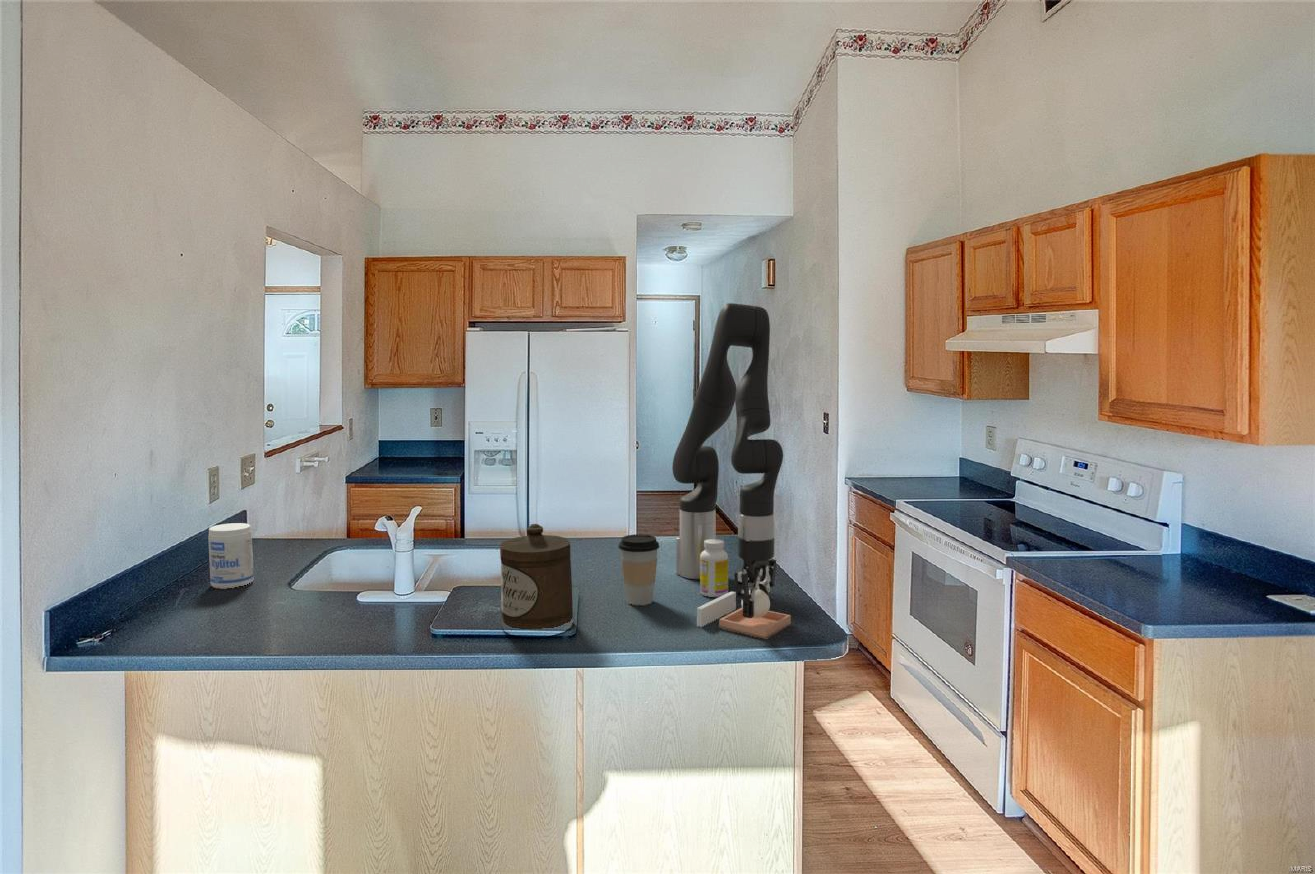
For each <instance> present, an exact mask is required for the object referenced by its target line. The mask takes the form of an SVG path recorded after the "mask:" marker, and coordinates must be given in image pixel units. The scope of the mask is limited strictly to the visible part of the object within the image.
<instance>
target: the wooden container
mask: <svg viewBox="0 0 1315 874" xmlns="http://www.w3.org/2000/svg"><path fill="white" fill-rule="evenodd" d="M543 532H544V527H543V526H541V525H540V524H538V523H532V524H530V525H529V526H528V527H526V533H527V535H524V536H517V537H512V538H508V539H506V540H504V541H502V542H501V543H500V545H499V554H500V555H499V556H500V557H499V559H500V575H501V576H500V579H501V580H500V582H501V583H500V584H501V585H500V587H501V589H500V591H501V592H500V593H501V599H500V600H501V601H500V602H501V619H502V620H503V622H504V623H505V624H506V625H508V626H510V627H512V628H519V629H542V628H554V627H558V626H561V625H563V624H565V623H568V622H570V621H571V619H572V618H573V619H574V613H573V611H574V610H573V584H572V582H573V580H572V564H571V562H572V561H571V556H572V555H571V542H570V539H568V538H566V537H563V536H557V535H551V534H550V535H548V534H545V535H543Z"/></svg>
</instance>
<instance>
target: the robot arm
mask: <svg viewBox="0 0 1315 874" xmlns="http://www.w3.org/2000/svg"><path fill="white" fill-rule="evenodd" d="M770 325H771V324H770V317H769V313H768V311H767V309H765V308H764V307H762V306H758V305H750V304H742V303H731V302H730V303H729V302H728V303H725V304H724V305H723V306H722V308H721V309H720V311H719V313H718V315H717V319H716V322H715V327H714V331H713V337H712V341H711V345H710V349H709V354H708V357H707V362H706V364H705V368H704V371H703V374H702V376H701V380H700V383H699V385H698V388H697V391H696V394H695V398H694V400H693V405H692V410H691V412H690V416H689V418H688V421H687V424H686V427H685V429H684V431H683V434H682V437H681V439H680V441H679V443H678V445H677V447H676V450H675V453H674V455H673V459H672V475H673V478H674V480H676V481H677V482H678V483H680V484H688V485H689V484H697V486H696V487H695V488H694V489H693V490H692V491H690V492H688V493H687V494H685V495H683V496H681V497H680V499H679V507H678V508H679V536H678V537H676V539H675V541H676V543H675V546H676V549H675V551H676V552H675V556H676V557H675V561H676V563H675V566H676V568H675V569H676V571H675V573H676V575H678V576H681V577H682V578H686V579H691V580H700V555H701V553H702V552H703V551H704V550H705V546H704V541H705V540H708V539H716V525H717V524H716V503H717V499H718V487H719V468H720V466H719V463H720V462H719V457H718V453H717V451H716V450H715V448H714V447H713V446H708V445H704V443H706V441H707V440H708V439H709V438H710V437H712V435H714V434H715V433H716V432H717V431H718V430H719V429H721V428H722V426H724V424H725V423H726V422H727V421H728V419H730V416H731V414H732V411H733V408H734V406H735V414H736V429H735V431H736V432H735V438H734V443H733V447H732V449H731V454H730V455H731V456H730V461H731V466H732V468H733V469H734V470H735V472H737V473H738V474H742V475H743V474H744V475H746V474H747V475H749V474H750V475H751V474H763V475H762V477H761V479H760V480H758V481H756V482H752V483H749V484H745V485H743V486H741V487H740V489H739V515H738V522H737V523H738V525H737V526H738V527H737V528H738V531H737V541H738V542H737V552H738V553H737V555H738V557H739V558H740V559H742V560H743V564H742V567H741V570H740V571H738V570H737V571H735V572H734V585H735V592H736V599H739V600H741V601H742V600H743V616H744V617H746V618H752V617H753V616H754V600H753V599H754V594H755V591H756V590H757V589H759V590H762V591H763V592H765V593H766V594H767V596H768V597H769V593H770V591H771V588H774V586H775V580H776V569H777V559H773V558H774V557H775V530H776V529H775V525H776V524H775V518H774V515H775V514H774V507H775V506H774V505H775V504H774V503H775V501H774V500H775V499H774V498H775V490H776V489H775V488H776V485H777V480H778V477H779V474H780V471H781V467H782V465H783V460H784V450H783V447H782V445H781V444H780V443H779V441H778V440H777V439H773V438H772V439H771V438H770V439H768V438H767V439H766V438H765V439H749V437H751V436H754V435H758V434H761V433H764V432H765V431H768V429H770V426H771V412H770V404H769V403H770V401H769V390H768V381H769V380H768V379H769V378H768V377H769V363H770V362H769V361H770V360H769V359H770V340H771V327H770ZM732 346H733V347H742V348H750V349H751V351H752V357H751V362H750V364H749V366H748V368H747V369H746V372H745V373H744V375H743V376H742V378H741V380H740V381H739V383H738V385H736V382H735V379H734V376H733V373H732V371H731V369H730V365H729V361H728V353H729V349H730V348H731V347H732ZM749 590H751V591H750V595H749Z"/></svg>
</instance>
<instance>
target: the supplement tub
mask: <svg viewBox="0 0 1315 874" xmlns="http://www.w3.org/2000/svg"><path fill="white" fill-rule="evenodd" d="M252 538H253V535H252V527H251V524H249V523H244V522H236V523H235V522H232V523H231V522H230V523H229V522H228V523H222V524H217V525H213V526H211V527H209V528H208V541H207V542H208V556H209V557H208V558H209V579H210V585H211V587H212V588H215V589H218V588H219V590H220V589H221V590H228V589H227V588H232V589H235V588H234V587H237V588H240V587H239V586H243V587H245V586H244V585H246V586H248V585H250V584H252V583H253V582H254V562H253V561H254V560H253V559H254V558H253V557H254V556H253V539H252ZM251 582H252V583H251ZM249 583H250V584H249ZM247 584H248V585H247Z"/></svg>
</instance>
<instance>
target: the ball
mask: <svg viewBox="0 0 1315 874" xmlns="http://www.w3.org/2000/svg"><path fill="white" fill-rule="evenodd" d="M750 591H751V589H749V595H750ZM753 600H754V616H753V617H752V618H760V617H763V616H764V615H765V614H766V613H767V612H768V611H770V607H771V601H770V598H769V595H768V596H767V594H766V593H765V592H763V591H762V590H759V589H757V590H756V591H755V594H754V599H753ZM740 605H741V608H742V609H743V600H742V599H741V603H740Z"/></svg>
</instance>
